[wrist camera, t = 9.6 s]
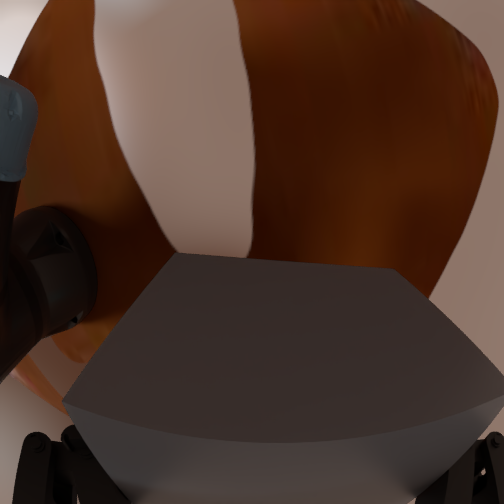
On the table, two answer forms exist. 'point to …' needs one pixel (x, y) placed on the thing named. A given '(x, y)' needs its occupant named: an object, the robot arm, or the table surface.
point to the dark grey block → (281, 387)
